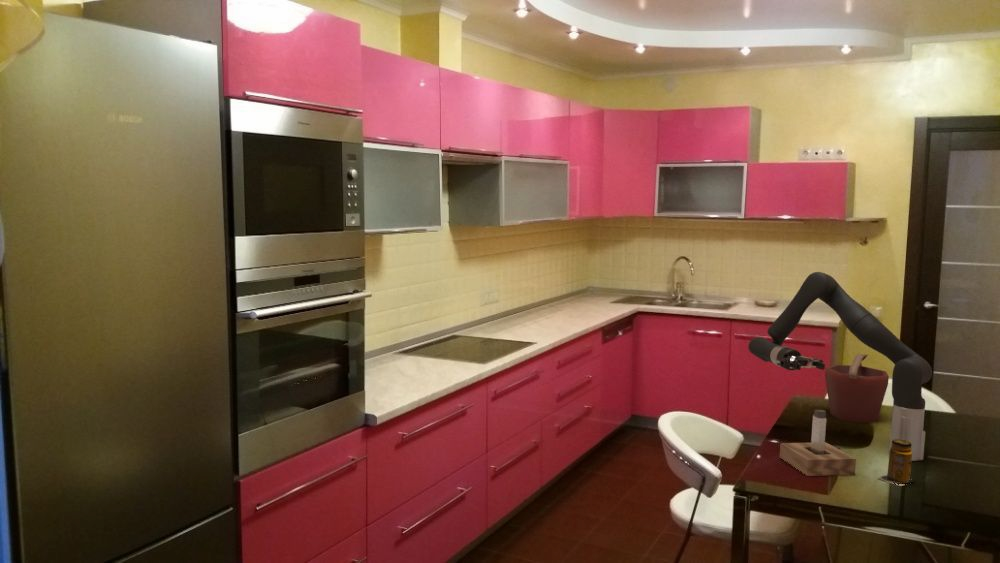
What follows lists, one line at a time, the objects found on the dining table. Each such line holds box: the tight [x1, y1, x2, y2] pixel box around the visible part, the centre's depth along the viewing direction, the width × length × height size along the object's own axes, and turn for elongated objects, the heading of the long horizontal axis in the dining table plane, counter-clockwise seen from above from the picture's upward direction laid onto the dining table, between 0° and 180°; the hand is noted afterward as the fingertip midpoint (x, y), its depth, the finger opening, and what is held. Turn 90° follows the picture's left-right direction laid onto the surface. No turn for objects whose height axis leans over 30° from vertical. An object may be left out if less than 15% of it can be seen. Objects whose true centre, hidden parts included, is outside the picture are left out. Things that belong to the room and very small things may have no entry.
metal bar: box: [810, 409, 827, 455], centre depth 234 cm, size 3×4×18 cm, turn 12°
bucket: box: [824, 353, 890, 424], centre depth 293 cm, size 24×22×25 cm
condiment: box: [877, 439, 913, 487], centre depth 224 cm, size 7×8×12 cm
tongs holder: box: [779, 441, 857, 477], centre depth 235 cm, size 16×16×5 cm
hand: (811, 366), depth 248 cm, fingers open, 8 cm apart
